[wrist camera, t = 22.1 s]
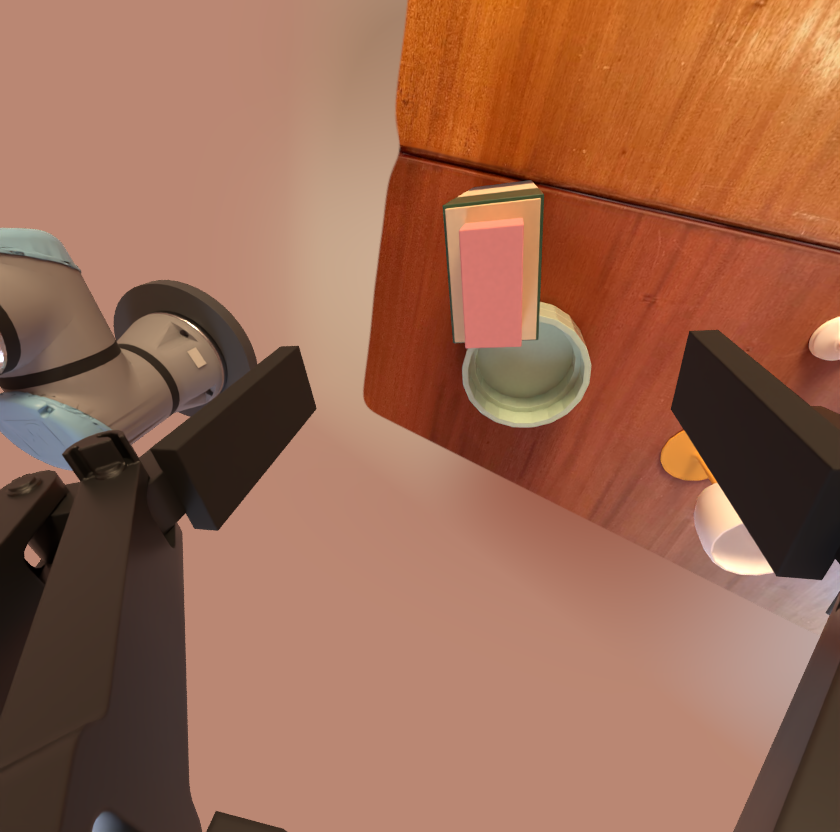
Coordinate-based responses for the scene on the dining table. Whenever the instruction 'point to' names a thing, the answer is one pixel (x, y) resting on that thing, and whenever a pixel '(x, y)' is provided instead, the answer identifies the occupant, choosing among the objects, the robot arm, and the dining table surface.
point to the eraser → (492, 282)
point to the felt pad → (530, 255)
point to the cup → (714, 513)
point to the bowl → (530, 374)
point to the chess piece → (826, 341)
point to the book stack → (498, 195)
